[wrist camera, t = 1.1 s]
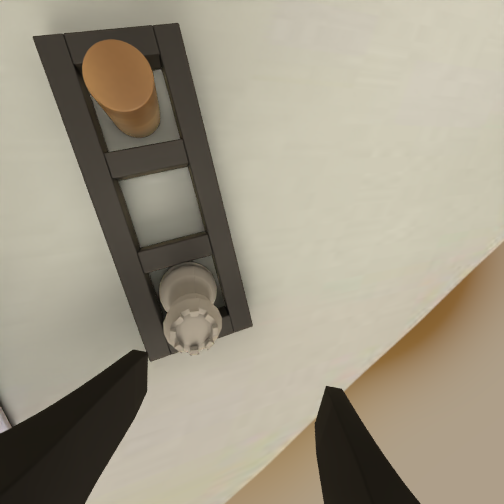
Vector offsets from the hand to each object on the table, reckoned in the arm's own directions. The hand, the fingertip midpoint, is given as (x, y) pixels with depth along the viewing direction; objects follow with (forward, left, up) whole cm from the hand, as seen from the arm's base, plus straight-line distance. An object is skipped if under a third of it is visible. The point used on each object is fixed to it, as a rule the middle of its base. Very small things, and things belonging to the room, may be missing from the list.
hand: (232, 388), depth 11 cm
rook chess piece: (-1, +1, -12) cm, 12 cm away
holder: (-1, +7, -12) cm, 14 cm away
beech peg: (-1, +14, -12) cm, 19 cm away
